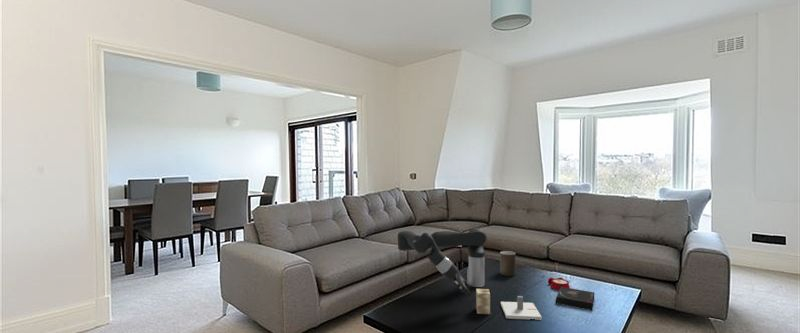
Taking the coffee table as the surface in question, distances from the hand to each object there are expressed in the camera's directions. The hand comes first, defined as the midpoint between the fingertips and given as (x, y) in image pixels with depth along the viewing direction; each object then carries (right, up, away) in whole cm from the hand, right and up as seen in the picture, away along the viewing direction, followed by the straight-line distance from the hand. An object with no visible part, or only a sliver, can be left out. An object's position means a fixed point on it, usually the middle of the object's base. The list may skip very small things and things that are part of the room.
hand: (469, 291), depth 179 cm
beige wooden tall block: (+7, -10, +1) cm, 12 cm away
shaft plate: (+25, -10, 0) cm, 26 cm away
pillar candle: (+35, -8, +56) cm, 67 cm away
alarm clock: (+58, -9, +33) cm, 68 cm away
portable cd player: (+58, -10, +13) cm, 60 cm away
